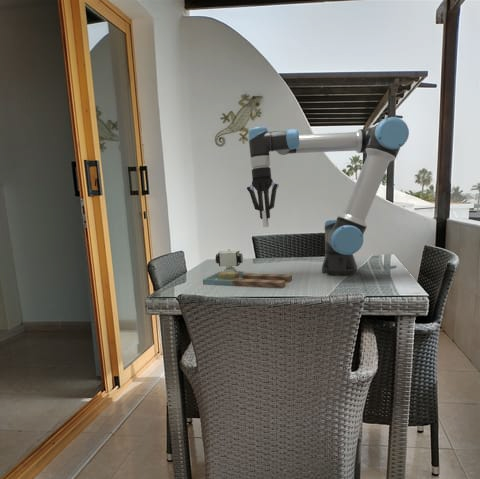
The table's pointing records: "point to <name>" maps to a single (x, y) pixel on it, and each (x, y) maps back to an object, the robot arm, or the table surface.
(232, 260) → the pneumatic valve
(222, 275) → the chip
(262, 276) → the slot board
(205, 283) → the tray
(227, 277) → the chip
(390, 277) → the table surface
